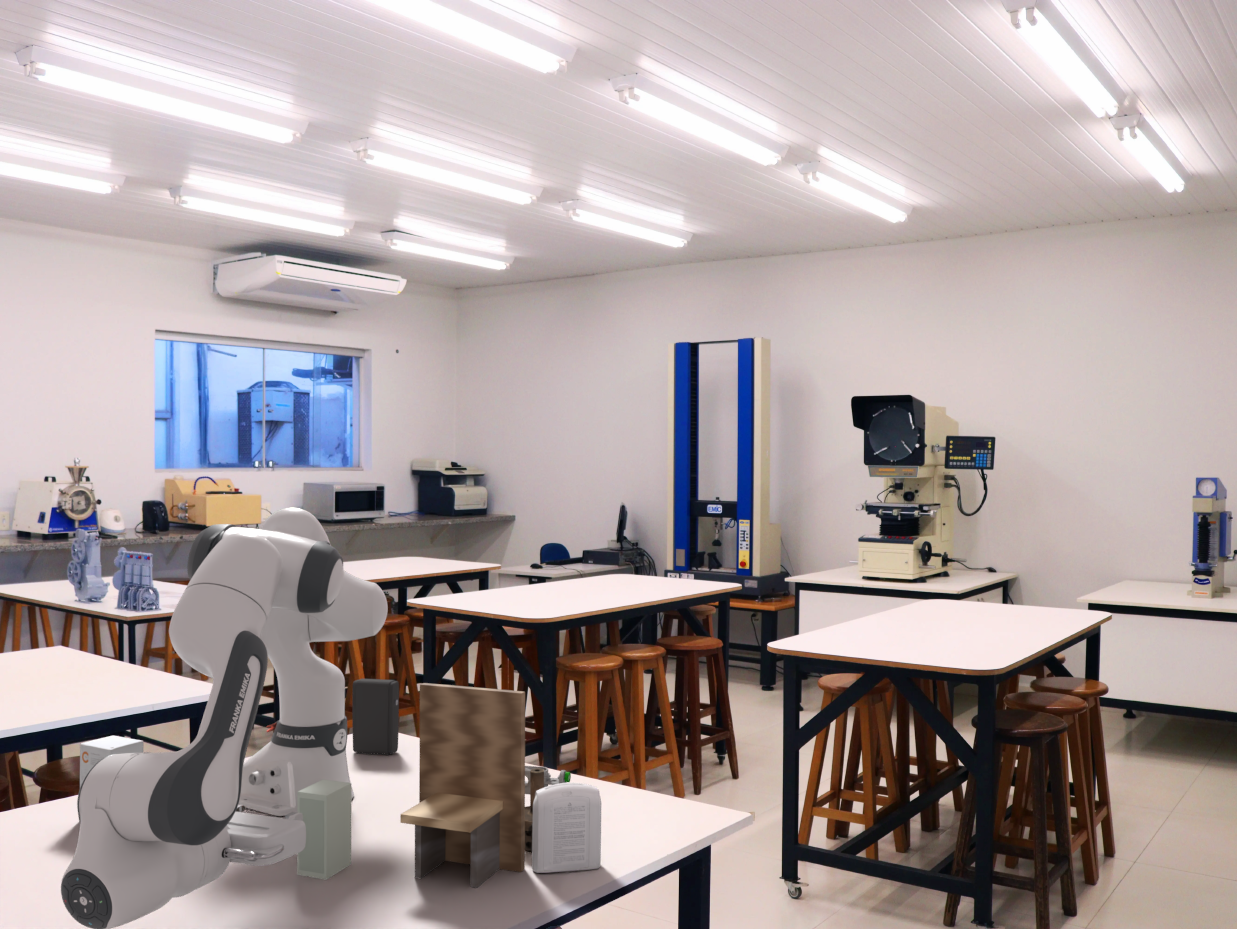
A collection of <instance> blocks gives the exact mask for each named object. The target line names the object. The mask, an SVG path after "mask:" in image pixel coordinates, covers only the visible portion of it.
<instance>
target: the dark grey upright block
mask: <svg viewBox="0 0 1237 929" xmlns="http://www.w3.org/2000/svg"><path fill="white" fill-rule="evenodd" d="M399 699H400V683H399V681H398V680H395V679H379V678H360V679H356V680H354V681H353V682H352V703H351V704H352V705H351V706H352V719H351V720H352V727H351V728H352V750H353V753H356V754H363V755H365V754H366V755H367V754H368V755H383V756H390V755H393V754H396V753H397V752H398V750H399V730H400V729H399V728H400V727H399V726H400V725H399V722H400V721H399V720H400V718H399V717H400V716H399V715H400V714H399V713H400V708H399V707H400V700H399Z"/></svg>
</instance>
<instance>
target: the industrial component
mask: <svg viewBox="0 0 1237 929" xmlns="http://www.w3.org/2000/svg"><path fill="white" fill-rule="evenodd" d="M542 788H544V770H543V769H540V768H535V769H532V770H531V771H530V794H529V795H530V799H529V802H530V805H528V806H525V851H527V852H532V832H533V802H534V799H535V793H536V791H537V790H539V789H542Z"/></svg>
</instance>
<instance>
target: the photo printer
mask: <svg viewBox="0 0 1237 929" xmlns="http://www.w3.org/2000/svg"><path fill="white" fill-rule="evenodd" d="M601 846H602V798H601V795H600V790H599V788H598V787H597V786H595V785H592V784H587V783H584V782H583V783H582V782H567V783H560V784H554V785H548V786H547V787H544V788H542V789H539V790H537V791H536V793H535V799H534V802H533V832H532V851H531V852H532V853H531V869H532V871H533V872H535V873H537V874H539V873H541V874H542V873H558V872H559V873H561V872H572V871H586V870H596V869H599V868H600V867H601V864H602V863H601V860H602V859H601V857H602V856H601V855H602V851H601V850H602V849H601V848H602V847H601Z"/></svg>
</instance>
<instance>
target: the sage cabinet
mask: <svg viewBox="0 0 1237 929" xmlns="http://www.w3.org/2000/svg"><path fill="white" fill-rule="evenodd" d="M351 786H352V782H351V783H347V782H339V781H331V780H321V781H319V782H317V783H315V784H313V785H311V786H308V787H306V788H304V789H302V790H300V791H298V792H297V812H298V813H302V814H303V822H304V823H305V827H306V845H305V848H304V850H303V851H302V852H300V853H298V854H296V855H297V856H296V858H297V859H296V860H297V861H296V865H297V866H296V872H297V873H296V875H297V876H303V877H307V876H309V877H308V878H314V879H319V880H326V881H327V880H328V879H330V878H332V877H333V876H334V875H337V874H338V873H340V872H341V871H343V870H344V869H346V868H347V867H349V866H351V865H352V799H351ZM350 864H351V865H350ZM342 869H343V870H342Z"/></svg>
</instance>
